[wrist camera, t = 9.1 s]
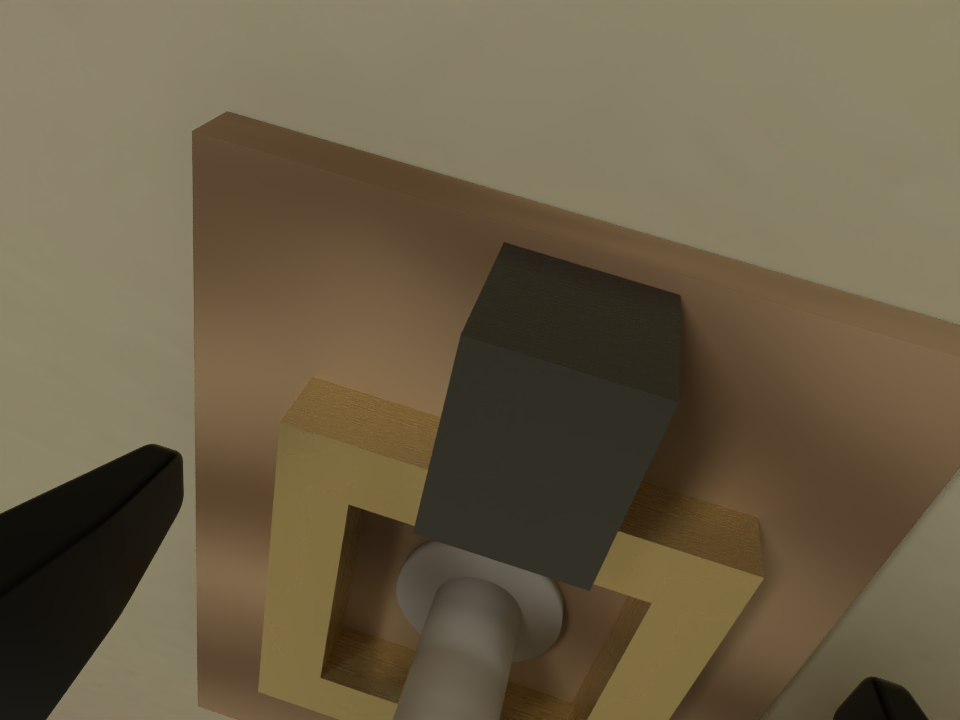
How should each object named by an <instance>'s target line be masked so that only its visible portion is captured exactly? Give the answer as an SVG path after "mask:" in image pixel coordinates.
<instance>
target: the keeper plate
mask: <svg viewBox="0 0 960 720" xmlns="http://www.w3.org/2000/svg"><path fill="white" fill-rule="evenodd" d="M192 160H193V262H194V363H195V465H196V566H197V668H198V706H199V707H202V708H205V709H208V710H211V711H214V712H217V713H220V714H222V715H225V716H228V717H231V718H234V719H237V720H339V719H336V718H333V717H330V716H327V715H324V714H321V713H318V712H315V711H312V710H310V709H307V708H304V707H301V706H298V705H295V704H292V703H289V702H286V701H283V700H280V699H277V698H275V697H272V696H269V695H266V694H263V693H260V692H258V686H259V674H260V661H261V649H262V636H263V624H264V612H265V599H266V587H267V574H268V562H269V549H270V537H271V524H272V512H273V499H274V487H275V474H276V462H277V449H278V437H279V424H280V421H281V420H282V419H283V417H284V416H285V414H286V413H287V411H288V410H289V409H290V407H291V406H292V404H293V403H294V402H295V400H296V399H297V397H298V396H299V395H300V393H301V392H302V390H303V389H304V388H305V386H306V385H307V383H308V382H309V381H310V379H311V378H312V377H315V378H318V379H322V380H325V381H328V382H331V383H334V384H337V385H341V386H344V387H347V388H350V389H353V390H356V391H359V392H363V393H366V394H369V395H372V396H375V397H378V398H382V399H385V400H388V401H391V402H394V403H397V404H401V405H404V406H407V407H410V408H413V409H416V410H420V411H423V412H426V413H429V414H432V415H435V416H439V417H441V414H442V410H443V406H444V402H445V398H446V393H447V389H448V385H449V381H450V377H451V373H452V368H453V364H454V360H455V356H456V352H457V348H458V344H459V339H460V335H461V333H462V331H463V329H464V326H465V324H466V322H467V320H468V318H469V316H470V314H471V312H472V309H473V307H474V305H475V303H476V301H477V299H478V297H479V294H480V292H481V290H482V288H483V286H484V284H485V282H486V279H487V277H488V275H489V273H490V271H491V269H492V267H493V264H494V262H495V260H496V258H497V256H498V254H499V252H500V249H501V247H502V245H503V243H504V242H506V243H509V244H512V245H516V246H519V247H522V248H526V249H529V250H532V251H536V252H539V253H542V254H546V255H549V256H552V257H556V258H559V259H562V260H566V261H569V262H572V263H576V264H579V265H582V266H586V267H589V268H592V269H596V270H599V271H602V272H606V273H609V274H612V275H616V276H619V277H622V278H626V279H629V280H632V281H636V282H639V283H642V284H646V285H649V286H652V287H656V288H659V289H662V290H666V291H669V292H672V293H676V294H679V295H680V365H679V403H678V406H677V408H676V410H675V412H674V414H673V416H672V418H671V420H670V423H669V425H668V427H667V429H666V431H665V433H664V435H663V437H662V439H661V442H660V444H659V446H658V448H657V450H656V452H655V454H654V456H653V459H652V461H651V463H650V465H649V467H648V469H647V471H646V473H645V475H644V478H643V480H642V481H644V482H647V483H650V484H654V485H657V486H660V487H663V488H666V489H669V490H673V491H676V492H679V493H682V494H685V495H688V496H691V497H695V498H698V499H701V500H704V501H707V502H710V503H714V504H717V505H720V506H723V507H726V508H729V509H733V510H736V511H739V512H742V513H745V514H748V515H752V516H755V517H758V525H759V534H760V543H761V553H762V562H763V571H764V579H763V581H762V582H761V584H760V585H759V587H758V588H757V590H756V591H755V592H754V594H753V595H752V597H751V598H750V600H749V601H748V603H747V604H746V606H745V607H744V609H743V610H742V612H741V613H740V615H739V616H738V618H737V619H736V621H735V622H734V624H733V625H732V627H731V628H730V630H729V631H728V633H727V634H726V636H725V637H724V639H723V640H722V642H721V643H720V645H719V646H718V647H717V649H716V650H715V652H714V653H713V655H712V656H711V658H710V659H709V661H708V662H707V664H706V665H705V667H704V668H703V670H702V671H701V673H700V674H699V676H698V677H697V679H696V680H695V682H694V683H693V685H692V686H691V688H690V689H689V691H688V692H687V694H686V695H685V697H684V698H683V700H682V701H681V702H680V704H679V705H678V707H677V708H676V710H675V711H674V713H673V714H672V716H671V717H670V719H669V720H760V718H761V717H762V716H763V715H764V713H765V712H766V711H767V710H768V708H769V707H770V706H771V704H772V703H773V702H774V701H775V699H776V698H777V697H778V696H779V694H780V693H781V692H782V691H783V689H784V688H785V687H786V686H787V684H788V683H789V682H790V681H791V679H792V678H793V677H794V675H795V674H796V673H797V672H798V670H799V669H800V668H801V667H802V665H803V664H804V663H805V662H806V660H807V659H808V658H809V657H810V655H811V654H812V653H813V652H814V650H815V649H816V648H817V646H818V645H819V644H820V643H821V641H822V640H823V639H824V638H825V636H826V635H827V634H828V633H829V631H830V630H831V629H832V628H833V626H834V625H835V624H836V623H837V621H838V620H839V619H840V617H841V616H842V615H843V614H844V612H845V611H846V610H847V609H848V607H849V606H850V605H851V604H852V602H853V601H854V600H855V599H856V597H857V596H858V595H859V594H860V592H861V591H862V590H863V588H864V587H865V586H866V585H867V583H868V582H869V581H870V580H871V578H872V577H873V576H874V575H875V573H876V572H877V571H878V570H879V568H880V567H881V566H882V565H883V563H884V562H885V561H886V559H887V558H888V557H889V556H890V554H891V553H892V552H893V551H894V549H895V548H896V547H897V546H898V544H899V543H900V542H901V541H902V539H903V538H904V537H905V536H906V534H907V533H908V532H909V530H910V529H911V528H912V527H913V525H914V524H915V523H916V522H917V520H918V519H919V518H920V517H921V515H922V514H923V513H924V512H925V510H926V509H927V508H928V507H929V505H930V504H931V503H932V501H933V500H934V499H935V498H936V496H937V495H938V494H939V493H940V491H941V490H942V489H943V488H944V486H945V485H946V484H947V483H948V481H949V480H950V479H951V478H952V476H953V475H954V474H955V473H956V471H957V470H958V469H959V467H960V326H959V325H956V324H953V323H949V322H946V321H942V320H939V319H936V318H932V317H929V316H925V315H922V314H918V313H915V312H912V311H908V310H905V309H901V308H898V307H894V306H891V305H888V304H884V303H881V302H877V301H874V300H871V299H867V298H864V297H860V296H857V295H853V294H850V293H847V292H843V291H840V290H836V289H833V288H829V287H826V286H823V285H819V284H816V283H812V282H809V281H806V280H802V279H799V278H795V277H792V276H788V275H785V274H782V273H778V272H775V271H771V270H768V269H765V268H761V267H758V266H754V265H751V264H747V263H744V262H741V261H737V260H734V259H730V258H727V257H723V256H720V255H717V254H713V253H710V252H706V251H703V250H700V249H696V248H693V247H689V246H686V245H682V244H679V243H676V242H672V241H669V240H665V239H662V238H658V237H655V236H652V235H648V234H645V233H641V232H638V231H635V230H631V229H628V228H624V227H621V226H617V225H614V224H611V223H607V222H604V221H600V220H597V219H593V218H590V217H587V216H583V215H580V214H576V213H573V212H570V211H566V210H563V209H559V208H556V207H552V206H549V205H546V204H542V203H539V202H535V201H532V200H528V199H525V198H522V197H518V196H515V195H511V194H508V193H505V192H501V191H498V190H494V189H491V188H487V187H484V186H481V185H477V184H474V183H470V182H467V181H463V180H460V179H457V178H453V177H450V176H446V175H443V174H440V173H436V172H433V171H429V170H426V169H422V168H419V167H416V166H412V165H409V164H405V163H402V162H398V161H395V160H392V159H388V158H385V157H381V156H378V155H375V154H371V153H368V152H364V151H361V150H357V149H354V148H351V147H347V146H344V145H340V144H337V143H333V142H330V141H327V140H323V139H320V138H316V137H313V136H310V135H306V134H303V133H299V132H296V131H292V130H289V129H286V128H282V127H279V126H275V125H272V124H268V123H265V122H262V121H258V120H255V119H251V118H248V117H245V116H241V115H238V114H234V113H231V112H225V113H223V114H222V115H220V116H218V117H216V118H215V119H213V120H211V121H209V122H207V123H206V124H204V125H202V126H200V127H199V128H197V129H195V130H193V131H192ZM413 530H414V526H413V525H410V524H407V523H404V522H401V521H398V520H395V519H392V518H389V517H386V516H383V515H379V514H376V513H373V512H370V511H367V510H364V515H363V520H362V526H361V531H360V537H359V542H358V548H357V553H356V559H355V564H354V570H353V575H352V581H351V586H350V592H349V597H348V603H347V608H346V614H345V619H344V625H343V626H345V627H348V628H351V629H354V630H357V631H360V632H363V633H366V634H369V635H372V636H375V637H378V638H381V639H384V640H387V641H390V642H393V643H396V644H399V645H402V646H405V647H408V648H411V649H414V650H416V652H415V655H414V658H413V661H412V664H411V667H410V670H409V673H408V676H407V679H406V682H405V685H404V688H403V691H402V694H401V697H400V700H399V703H398V706H397V708H396V711H395V714H394V717H393V720H499V719H500V715H501V710H502V706H503V701H504V696H505V692H506V687H507V682H508V681H509V682H512V683H515V684H518V685H521V686H524V687H527V688H530V689H533V690H536V691H539V692H542V693H545V694H548V695H551V696H554V697H557V698H560V699H563V700H566V701H569V702H573V700H574V698H575V696H576V694H577V692H578V690H579V688H580V687H581V685H582V683H583V681H584V679H585V677H586V675H587V673H588V671H589V669H590V667H591V665H592V664H593V662H594V660H595V658H596V656H597V654H598V652H599V650H600V648H601V646H602V644H603V642H604V640H605V639H606V637H607V635H608V633H609V631H610V629H611V627H612V625H613V623H614V621H615V619H616V617H617V616H618V614H619V612H620V610H621V608H622V606H623V604H624V602H625V600H626V598H627V596H628V595H625V594H622V593H619V592H616V591H613V590H610V589H607V588H604V587H600V586H597V585H594V584H593V586H592V588H591V590H590V591H588V590H585V589H582V588H578V587H575V586H572V585H569V584H566V583H563V582H560V581H557V580H554V579H551V578H548V577H545V576H542V575H539V574H536V573H533V572H529V571H526V570H523V569H520V568H517V567H514V566H511V565H508V564H505V563H502V562H499V561H496V560H493V559H490V558H487V557H484V556H480V555H477V554H474V553H471V552H468V551H465V550H462V549H459V548H456V547H453V546H450V545H447V544H444V543H441V542H438V541H435V540H431V539H428V538H425V537H422V536H419V535H416V534H413Z"/></svg>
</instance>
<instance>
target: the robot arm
mask: <svg viewBox="0 0 960 720" xmlns="http://www.w3.org/2000/svg"><path fill="white" fill-rule="evenodd" d="M183 496H184V487H183V459H182V456H181V454H180V453H179V452H178V451H175V450H172V449H169V448H166V447H163V446H160V445H157V444H149V445H145V446H143V447H140V448H138V449H136V450H134V451H132V452H130V453H128V454H126V455H123V456H121V457H119V458H117V459H115V460H113V461H111V462H109V463H107V464H104V465H102V466H100V467H98V468H96V469H94V470H92V471H90V472H88V473H85V474H83V475H81V476H79V477H77V478H75V479H73V480H71V481H68V482H66V483H64V484H62V485H60V486H58V487H56V488H54V489H52V490H49V491H47V492H45V493H43V494H41V495H39V496H37V497H35V498H32V499H30V500H28V501H26V502H24V503H22V504H20V505H18V506H16V507H13V508H11V509H9V510H7V511H5V512H3V513H1V514H0V720H46V719H47V718H48V716H49V715H50V713H51V712H52V711H53V709H54V708H55V706H56V705H57V704H58V702H59V701H60V700H61V698H62V697H63V695H64V694H65V693H66V691H67V690H68V688H69V687H70V686H71V684H72V683H73V681H74V680H75V679H76V677H77V676H78V674H79V673H80V672H81V670H82V669H83V667H84V666H85V665H86V663H87V662H88V660H89V659H90V658H91V656H92V655H93V653H94V652H95V651H96V649H97V648H98V646H99V645H100V644H101V642H102V641H103V639H104V638H105V637H106V635H107V634H108V632H109V631H110V630H111V628H112V627H113V625H114V624H115V622H116V621H117V619H118V618H119V616H120V615H121V613H122V612H123V610H124V608H125V606H126V605H127V603H128V601H129V600H130V598H131V596H132V595H133V593H134V591H135V589H136V587H137V586H138V584H139V582H140V580H141V579H142V577H143V575H144V573H145V571H146V570H147V568H148V566H149V564H150V563H151V561H152V559H153V557H154V555H155V554H156V552H157V550H158V548H159V546H160V545H161V543H162V541H163V539H164V538H165V536H166V534H167V532H168V530H169V529H170V527H171V525H172V523H173V522H174V520H175V518H176V516H177V514H178V512H179V510H180V508H181V505H182V502H183ZM833 720H929V719H928V718H927V717H926V715H925V714H924V712H923V711H922V710H921V708H920V707H919V705H918V704H917V703H916V701H915V700H914V698H913V697H912V696H911V694H910V693H909V692H908V691H907V690H906V689H905V688H904V687H902V686H901V685H898V684H896V683H893V682H889V681H886V680H883V679H880V678H877V677H872V676H871V677H868V678H865V679H864V680H863V681H862V682H861V683H860V684H859V685H858V686H857V687H856V689H855V690H854V691H853V692H852V693H851V694H850V695H849V696H848V698H847V699H846V700H845V701H844V702H843V703H842V704H841V705H840V707H839V708H838V709H837V711H836V713H835V715H834V718H833Z"/></svg>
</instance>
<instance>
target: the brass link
mask: <svg viewBox="0 0 960 720" xmlns="http://www.w3.org/2000/svg"><path fill="white" fill-rule="evenodd" d="M679 365H680V295H679V294H676V293H672V292H669V291H666V290H662V289H659V288H656V287H652V286H649V285H646V284H642V283H639V282H636V281H632V280H629V279H626V278H622V277H619V276H616V275H612V274H609V273H606V272H602V271H599V270H596V269H592V268H589V267H586V266H582V265H579V264H576V263H572V262H569V261H566V260H562V259H559V258H556V257H552V256H549V255H546V254H542V253H539V252H536V251H532V250H529V249H526V248H522V247H519V246H516V245H512V244H509V243H506V242H504V243H503V245H502V247H501V249H500V252H499V254H498V256H497V258H496V260H495V262H494V264H493V267H492V269H491V271H490V273H489V275H488V277H487V279H486V282H485V284H484V286H483V288H482V290H481V292H480V294H479V297H478V299H477V301H476V303H475V305H474V307H473V309H472V312H471V314H470V316H469V318H468V320H467V322H466V324H465V326H464V329H463V331H462V333H461V335H460V339H459V344H458V348H457V352H456V356H455V360H454V364H453V368H452V373H451V377H450V381H449V385H448V389H447V393H446V398H445V402H444V406H443V410H442V414H441V417H439V416H435V415H432V414H429V413H426V412H423V411H420V410H416V409H413V408H410V407H407V406H404V405H401V404H397V403H394V402H391V401H388V400H385V399H382V398H378V397H375V396H372V395H369V394H366V393H363V392H359V391H356V390H353V389H350V388H347V387H344V386H341V385H337V384H334V383H331V382H328V381H325V380H322V379H318V378H315V377H312V378H311V379H310V381H309V382H308V383H307V385H306V386H305V388H304V389H303V390H302V392H301V393H300V395H299V396H298V397H297V399H296V400H295V402H294V403H293V404H292V406H291V407H290V409H289V410H288V411H287V413H286V414H285V416H284V417H283V419H282V420H281V421H280V424H279V437H278V449H277V462H276V474H275V487H274V499H273V512H272V524H271V537H270V549H269V562H268V574H267V587H266V599H265V612H264V624H263V636H262V649H261V661H260V674H259V686H258V692H260V693H263V694H266V695H269V696H272V697H275V698H277V699H280V700H283V701H286V702H289V703H292V704H295V705H298V706H301V707H304V708H307V709H310V710H312V711H315V712H318V713H321V714H324V715H327V716H330V717H333V718H336V719H339V720H393V717H394V714H395V711H396V708H397V706H398V703H399V700H400V697H401V694H402V691H403V688H404V685H405V682H406V679H407V676H408V673H409V670H410V667H411V664H412V661H413V658H414V655H415V652H416V650H414V649H411V648H408V647H405V646H402V645H399V644H396V643H393V642H390V641H387V640H384V639H381V638H378V637H375V636H372V635H369V634H366V633H363V632H360V631H357V630H354V629H351V628H348V627H345V626H343V625H344V619H345V614H346V608H347V603H348V597H349V592H350V586H351V581H352V575H353V570H354V564H355V559H356V553H357V548H358V542H359V537H360V531H361V526H362V520H363V515H364V510H367V511H370V512H373V513H376V514H379V515H383V516H386V517H389V518H392V519H395V520H398V521H401V522H404V523H407V524H410V525H413V526H414V530H413V534H416V535H419V536H422V537H425V538H428V539H431V540H435V541H438V542H441V543H444V544H447V545H450V546H453V547H456V548H459V549H462V550H465V551H468V552H471V553H474V554H477V555H480V556H484V557H487V558H490V559H493V560H496V561H499V562H502V563H505V564H508V565H511V566H514V567H517V568H520V569H523V570H526V571H529V572H533V573H536V574H539V575H542V576H545V577H548V578H551V579H554V580H557V581H560V582H563V583H566V584H569V585H572V586H575V587H578V588H582V589H585V590H588V591H590V590H591V588H592V586H593V584H594V585H597V586H600V587H604V588H607V589H610V590H613V591H616V592H619V593H622V594H625V595H628V596H627V598H626V600H625V602H624V604H623V606H622V608H621V610H620V612H619V614H618V616H617V617H616V619H615V621H614V623H613V625H612V627H611V629H610V631H609V633H608V635H607V637H606V639H605V640H604V642H603V644H602V646H601V648H600V650H599V652H598V654H597V656H596V658H595V660H594V662H593V664H592V665H591V667H590V669H589V671H588V673H587V675H586V677H585V679H584V681H583V683H582V685H581V687H580V688H579V690H578V692H577V694H576V696H575V698H574V700H573V702H569V701H566V700H563V699H560V698H557V697H554V696H551V695H548V694H545V693H542V692H539V691H536V690H533V689H530V688H527V687H524V686H521V685H518V684H515V683H512V682H509V681H508V682H507V687H506V692H505V696H504V701H503V706H502V710H501V715H500V719H499V720H669V719H670V717H671V716H672V714H673V713H674V711H675V710H676V708H677V707H678V705H679V704H680V702H681V701H682V700H683V698H684V697H685V695H686V694H687V692H688V691H689V689H690V688H691V686H692V685H693V683H694V682H695V680H696V679H697V677H698V676H699V674H700V673H701V671H702V670H703V668H704V667H705V665H706V664H707V662H708V661H709V659H710V658H711V656H712V655H713V653H714V652H715V650H716V649H717V647H718V646H719V645H720V643H721V642H722V640H723V639H724V637H725V636H726V634H727V633H728V631H729V630H730V628H731V627H732V625H733V624H734V622H735V621H736V619H737V618H738V616H739V615H740V613H741V612H742V610H743V609H744V607H745V606H746V604H747V603H748V601H749V600H750V598H751V597H752V595H753V594H754V592H755V591H756V590H757V588H758V587H759V585H760V584H761V582H762V581H763V579H764V571H763V562H762V553H761V543H760V534H759V525H758V517H755V516H752V515H748V514H745V513H742V512H739V511H736V510H733V509H729V508H726V507H723V506H720V505H717V504H714V503H710V502H707V501H704V500H701V499H698V498H695V497H691V496H688V495H685V494H682V493H679V492H676V491H673V490H669V489H666V488H663V487H660V486H657V485H654V484H650V483H647V482H644V481H642V480H643V478H644V475H645V473H646V471H647V469H648V467H649V465H650V463H651V461H652V459H653V456H654V454H655V452H656V450H657V448H658V446H659V444H660V442H661V439H662V437H663V435H664V433H665V431H666V429H667V427H668V425H669V423H670V420H671V418H672V416H673V414H674V412H675V410H676V408H677V406H678V403H679Z"/></svg>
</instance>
